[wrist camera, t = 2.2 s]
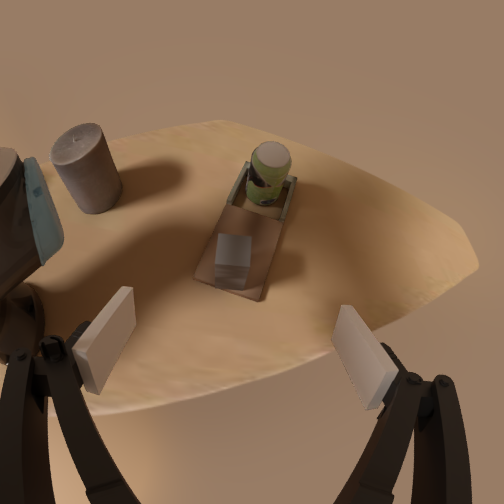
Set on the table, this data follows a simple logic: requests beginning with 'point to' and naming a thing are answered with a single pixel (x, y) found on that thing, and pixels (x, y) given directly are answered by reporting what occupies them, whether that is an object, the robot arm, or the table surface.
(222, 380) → the table surface
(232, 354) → the table surface
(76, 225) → the table surface
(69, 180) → the pillar candle
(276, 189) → the beverage can
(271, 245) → the pull strip
